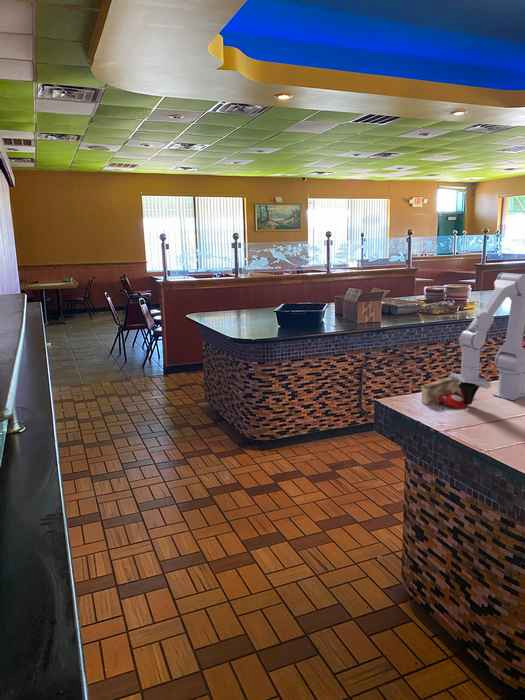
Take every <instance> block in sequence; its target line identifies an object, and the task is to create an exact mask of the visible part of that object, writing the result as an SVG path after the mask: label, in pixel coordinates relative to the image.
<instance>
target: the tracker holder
mask: <svg viewBox="0 0 525 700" xmlns="http://www.w3.org/2000/svg"><path fill="white" fill-rule="evenodd" d="M455 390H456V389H455ZM437 402H438V403H437V404H439V405H445V404H446V405H447V406H449V407H452V408H454V409H458V410H459V409H460V410H461V409H465V408H467V406H468V405H467V404H465V401H464V397H463V394H462V392H461V391H458V390H456V391H455V393H454V394H452V393H446V394H441V395H440V396H439V397H438V401H437Z"/></svg>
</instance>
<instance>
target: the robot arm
mask: <svg viewBox="0 0 525 700" xmlns="http://www.w3.org/2000/svg"><path fill="white" fill-rule="evenodd" d="M493 287H494V289H493V291H492V293H491V295H490V297H489V299H488V301H487V303H486V305H485V306H484V309H483V310H480V311H478V312H477V314H476V315H475V317H474V318H473V319H472V321H471V323H470V324H469V326H468V327H467V329H465V330H463V331H462V332H460V335H459V338H457V339H458V340H457V341H458V344H459V346H460V351H461V366H460V373H453V372H452V373H450V374H449V377H450V380H457V381H460V382H461V384H459V388H460V389H461V391H462V394H463V398H464V401H465V404H467V406H469V405H472V404H473V401H474V398H475V395H476V393H477V392H478V390H479V389H480V388H484V389H486V390H487V389H488V390H489V389H491V384H492V382H490V381H487V380H485V379H482V378H480V365H481V364H480V360H481V348H483V347H484V345H485V343H486V337H487V333H488V331H489V330H490V328H491V326H492V325H493V324H494V321H495V318H494V315H495V314H496V312H497V311H498V309H499V308H500V307H501V305H502V304H503V303H504V301H505V300H506V299H507V298H509V299H510V300H511V301H510V307H509V308H510V309H509V314H508V315H509V316H508V321H507V329H506V337H505V341H504V344H503V345H502V346H500V347H498V349H497V350H498V351H497V354H496V355H495V358H494V365H495V367H496V368H497V371H498V373H499V374H498V389H497V392H494V393H492V395H493V396H495V397H498V398H503V399H505V400H511V401H515V400H518V399H520V398H523V397H525V348H524V347H523V340H524V339H523V338H524V333H525V273H509V272H500V273H499V274H497V277H496V279H495V280H494V282H493Z"/></svg>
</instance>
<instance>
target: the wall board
mask: <svg viewBox="0 0 525 700" xmlns="http://www.w3.org/2000/svg"><path fill="white" fill-rule="evenodd" d="M459 384H461V382H460V381H457V380H450V376H449V377H445V378H442V379H439V380H435V381H432V382H428V383H425V384H422V385H423V386H421V403H422V404H425V405H428V404H431V403H435V402H438V397H439V396H440V395H441V394H446V393H452V394H454V393H455V391H456V390H458V391H461V389H460V388H459ZM455 389H456V390H455ZM461 392H462V391H461Z"/></svg>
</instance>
